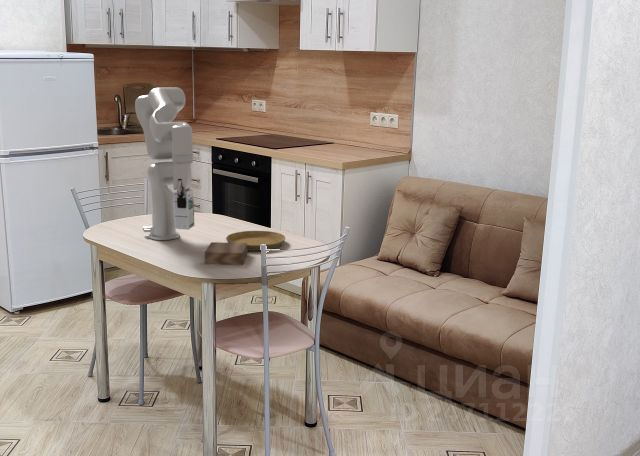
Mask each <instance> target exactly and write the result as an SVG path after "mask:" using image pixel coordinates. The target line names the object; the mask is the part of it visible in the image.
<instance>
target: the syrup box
mask: <svg viewBox="0 0 640 456" xmlns="http://www.w3.org/2000/svg"><path fill="white" fill-rule="evenodd" d="M172 192H173V194H174V215H175V228H176V229H177V230H185V231H186V230H190V229H191V228H193V227H195V207H194V204H195V203H194V202H195V201H194V190H193V189H192V188H191V189H186V190H185V198H186V208H178V207H177V190H174V191H172ZM181 192H182V193H183V191H181Z"/></svg>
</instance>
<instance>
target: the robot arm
mask: <svg viewBox="0 0 640 456" xmlns="http://www.w3.org/2000/svg"><path fill="white" fill-rule="evenodd" d="M185 106H186V95H185V92H184V91H183V89H182V88H180V87H177V86H175V87H174V86H168V87H163V86H162V87H155V88H152V89H151V90H150V91H149V93H148V94H145V95H140V96H138V97H137V98H136V99H135V103H134V107H135V108H134V109H135V114H136V118H137V120H138V121H139V123H140V126H141V128H142V130H143V135H144V139H145V140H144V141H145V145H146V146H145V147H146V151H147V155H148V158H149V159H150V160H151V161H156V162H154V163H152V164H150V165H149V166H148V168H147V179H148V181H149V182H148V183H149V188H150V201H151V203H150V206H151V226H143V227H142V231H143V232H144V233H149V234H148V238H149V239H150V240H155V241H169V240H170V241H171V240H175V239H179V237H180V232H179V231H177V230H176V228H175V215H174V194H173V192H174V191H177V207H178V208H186V198H185V190H186V189H190V188H191V187H192V164H193V163H194V152H193V151H194V150H193V149H194V148H193V147H194V146H193V144H194V143H193V141H194V140H193V128H192V126H191V125H190V124H189V123H188V122H186V121H174V120H175V119H176V117H177V115H178V113H179V112H180V111H181V110H183V108H184V107H185ZM157 161H158V162H157ZM159 161H160V162H159ZM161 161H162V162H161ZM172 185H173V186H172ZM168 186H172V187H173V191H172V190H171V188H169V187H168ZM181 191H183V193H182V192H181Z"/></svg>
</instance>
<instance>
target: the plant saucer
mask: <svg viewBox="0 0 640 456" xmlns="http://www.w3.org/2000/svg"><path fill="white" fill-rule="evenodd" d="M225 240H226V243H247V252H251V251H253V252H260V245H261V244H266V246H267V249H270V250H274V249H276V247H277V248H278V247H280V246H281V245H283V244H284V242H285V241H286V235H284V234H282V233H280V232H276V231H268V230H246V231H245V230H243V231H237V232H234V233H230V234H228V235H227V236H226V238H225Z"/></svg>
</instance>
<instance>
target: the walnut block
mask: <svg viewBox="0 0 640 456" xmlns="http://www.w3.org/2000/svg"><path fill="white" fill-rule="evenodd" d="M247 257H248V251H247V243H228V242H210V244H209V245H208V247H207V248H206V249H205V251H204V264H205V265H211V264H219V265H221V266H222V265H223V266H224V265H225V266H228V265H229V266H243V265H244V263H245V262H246V258H247ZM219 265H218V266H219Z"/></svg>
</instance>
